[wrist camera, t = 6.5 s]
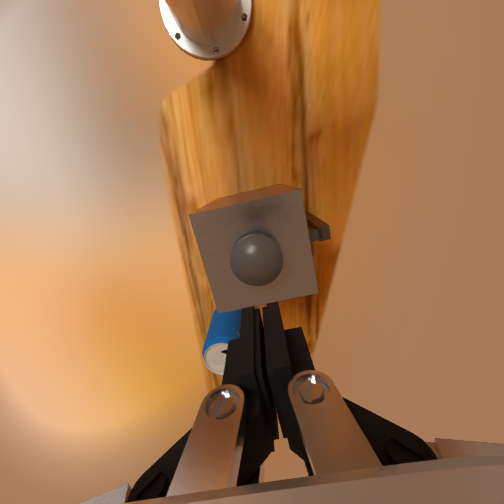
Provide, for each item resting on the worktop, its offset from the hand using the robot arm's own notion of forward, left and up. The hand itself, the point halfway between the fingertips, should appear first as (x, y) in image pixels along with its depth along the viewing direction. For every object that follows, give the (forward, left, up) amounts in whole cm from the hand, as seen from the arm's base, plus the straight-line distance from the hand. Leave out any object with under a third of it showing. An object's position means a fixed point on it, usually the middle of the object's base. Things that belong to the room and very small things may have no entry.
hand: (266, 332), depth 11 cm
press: (+1, +1, -33) cm, 33 cm away
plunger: (+1, 0, -32) cm, 32 cm away
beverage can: (+18, -9, -34) cm, 39 cm away
